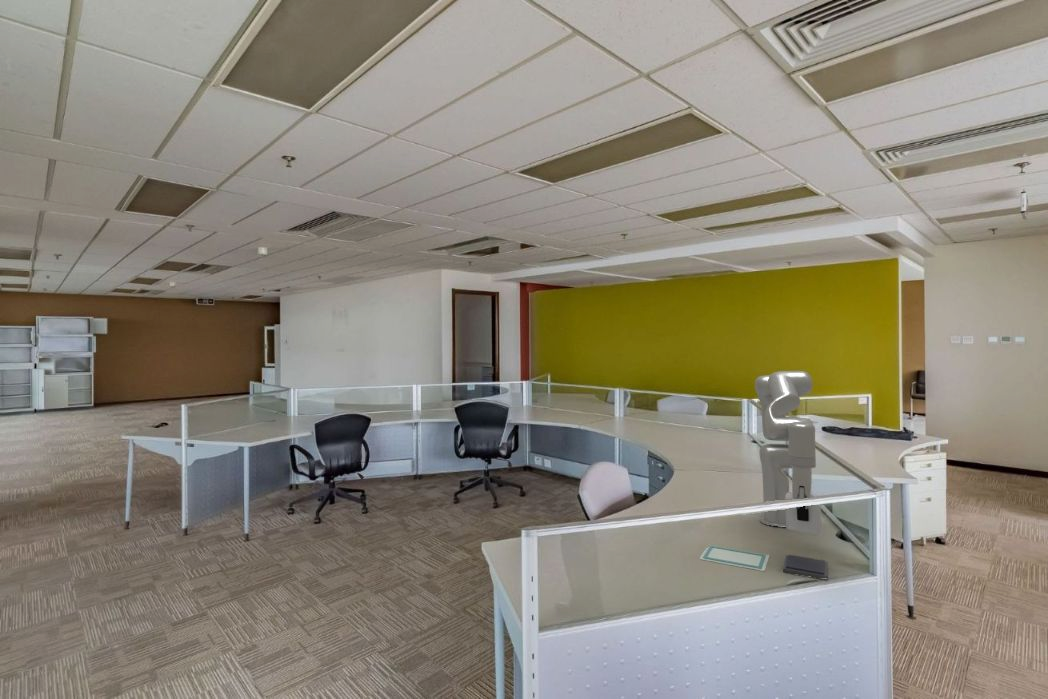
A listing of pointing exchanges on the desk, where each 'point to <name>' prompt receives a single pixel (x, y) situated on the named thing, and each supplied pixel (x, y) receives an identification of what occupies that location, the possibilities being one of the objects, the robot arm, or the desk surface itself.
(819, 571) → the ink pad
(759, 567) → the teal bordered white mat
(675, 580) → the desk surface
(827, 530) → the desk surface
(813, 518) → the photo printer
